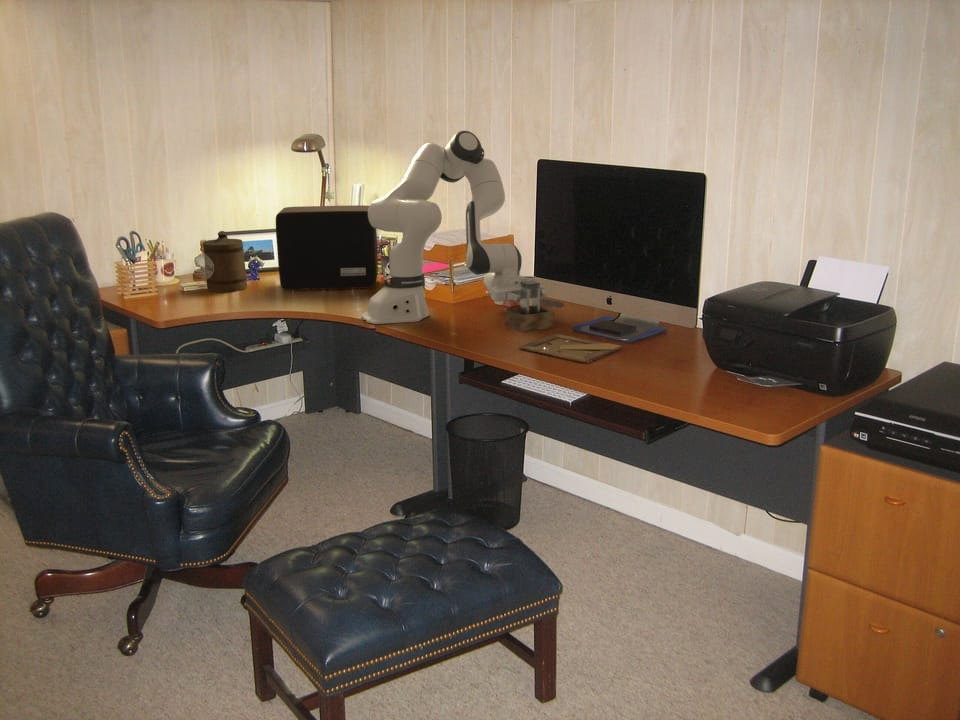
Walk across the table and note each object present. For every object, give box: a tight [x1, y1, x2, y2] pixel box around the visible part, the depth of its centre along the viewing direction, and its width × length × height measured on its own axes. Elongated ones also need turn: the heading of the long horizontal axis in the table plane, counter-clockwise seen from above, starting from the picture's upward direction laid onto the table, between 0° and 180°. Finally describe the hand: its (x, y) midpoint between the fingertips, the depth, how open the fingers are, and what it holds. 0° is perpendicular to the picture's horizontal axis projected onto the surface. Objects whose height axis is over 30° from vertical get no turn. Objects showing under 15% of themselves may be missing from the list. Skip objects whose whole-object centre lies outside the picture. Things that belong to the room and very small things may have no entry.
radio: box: [275, 204, 379, 291], centre depth 360 cm, size 36×18×30 cm, turn 94°
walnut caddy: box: [506, 305, 555, 332], centre depth 302 cm, size 11×11×5 cm
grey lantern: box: [520, 280, 541, 315], centre depth 301 cm, size 5×5×13 cm
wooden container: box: [202, 230, 248, 293], centre depth 360 cm, size 15×15×22 cm
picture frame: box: [518, 333, 623, 364], centre depth 276 cm, size 19×2×24 cm
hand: (531, 296), depth 300 cm, fingers open, 8 cm apart
